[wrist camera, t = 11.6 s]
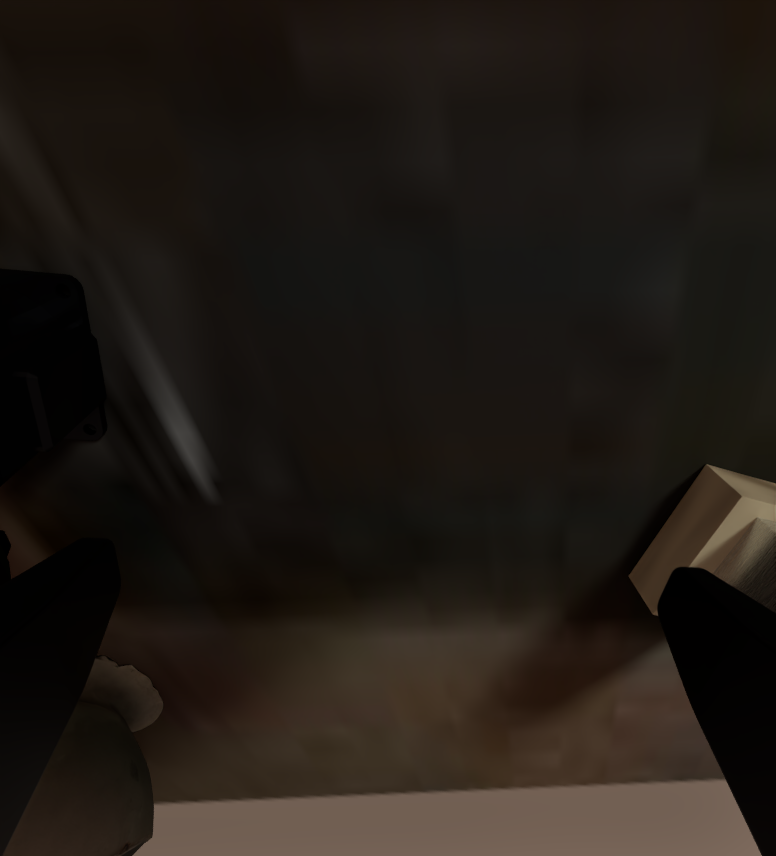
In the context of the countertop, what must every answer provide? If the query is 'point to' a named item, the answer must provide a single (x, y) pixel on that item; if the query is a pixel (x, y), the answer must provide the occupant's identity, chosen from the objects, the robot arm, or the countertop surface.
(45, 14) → the countertop surface
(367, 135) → the countertop surface
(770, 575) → the housing
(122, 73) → the countertop surface
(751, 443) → the countertop surface
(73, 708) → the robot arm
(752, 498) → the stand
